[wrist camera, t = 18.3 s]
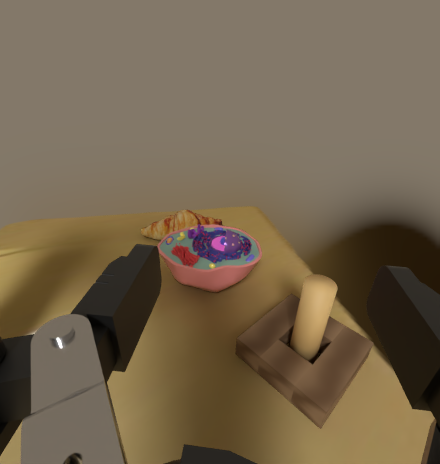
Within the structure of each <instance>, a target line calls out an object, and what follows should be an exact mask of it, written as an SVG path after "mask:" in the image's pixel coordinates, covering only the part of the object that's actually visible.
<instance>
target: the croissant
mask: <svg viewBox="0 0 440 464" xmlns="http://www.w3.org/2000/svg"><path fill="white" fill-rule="evenodd" d="M198 224H200V225H211V224H216V225H221V224H222V221H221V220H220V219H213V218H211V217H203V216H202V215H200V214H196V213H193V212H192V211H190V210H181V211H179V212H177V213H176V214H175V215H170V216H167V217H165V218H164V219H163V220H160V221H158V222H154V223H152V224H150V225H149V226H148V227H145V228H142V230H141V233H142V235H143V236H145V237H148V238H152V239H156V240H162V239H163V238H164V237H165V236H166V235H167V234H169V233H171V232H174V231H177V230H181V229H185V228H188V227H192V226H198Z"/></svg>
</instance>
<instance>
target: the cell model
mask: <svg viewBox="0 0 440 464" xmlns="http://www.w3.org/2000/svg"><path fill="white" fill-rule="evenodd" d="M157 247H158V250H159V253H160V255H161V257H162V258H163V260H164V262H165V263H166V265H167V266H168V267H169V269H170V270H171V273H172V275H173V277H174V278H175V280H176V281H177V282H179V283H180V284H183V285H186V286H191V287H195V288H198V289H201V290H205V291H210V292H219V291H221V290H224V289H226V288H228V287H230V286H232V285H234V284H237V283H238V282H240V281H241V280H242V279H244V278H245V277H246V276H247V275H248V274H249V273H250V272H251V271H252V269H253V268H254V267H255V265H256V264H257V263H258V261H259V260H260V258H261V257H262V251H261V247H260V245H259V243H258V241H257V240H256V239H254V238H253V237H251V236H250V235H249V234H248V233H246V232H245V231H243V230H241V229H238V228H233V227H227V226H222V225H216V224H211V225H200V224H198V226H192V227H188V228H185V229H181V230H177V231H174V232H171V233H169V234H167V235H166V236H165V237H164V238H163V239H162V240H161V241H160V242H159V244H158V246H157Z"/></svg>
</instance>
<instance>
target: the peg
mask: <svg viewBox="0 0 440 464" xmlns="http://www.w3.org/2000/svg"><path fill="white" fill-rule="evenodd" d="M336 292H337V285H336V283H334V281H333V280H331V279H330V278H328V277H325V276H322V275H309V276H307V277H306V278H305V280H304V284H303V288H302V293H301V297H300V302H299V306H298V310H297V315H296V319H295V324H294V328H293V333H292V337H291V341H290V346H289V348H291V349H292V350H294V351H295V352H296V353H298V354H299V355H300V356H302V357H303V358H304V359H306V360H307V361H308V362H310V363H311V364H312V365H313V364H314V362H315V361H316V357H317V354H318V351H319V348H320V344H321V341H322V338H323V334H324V331H325V328H326V325H327V321H328V318H329V315H330V312H331V308H332V305H333V302H334V299H335V295H336Z"/></svg>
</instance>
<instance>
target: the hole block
mask: <svg viewBox="0 0 440 464" xmlns="http://www.w3.org/2000/svg"><path fill="white" fill-rule="evenodd" d="M299 302H300V299H299V298H298V297H296V296H294V295H293V294H290V295H289V296H288V297H287V298H285V299H284V300H283V301H282V302H281V303H279V304H278V305H277V306H276V307H274V308H273V309H272V310H271V311H269V312H268V313H267V314H266V315H264V316H263V317H262V318H261V319H260V320H258V321H257V322H256V323H255V324H253V325H252V326H251V327H250V328H248V329H247V330H246V331H245V332H243V333H242V334H241V335H240V336H239V337H237V344H236V354H237V355H238V356H239V357H240V358H241V359H242V360H243V361H245V362H246V363H247V364H248V365H249V366H250V367H251V368H252V369H254V370H255V371H256V372H257V373H258V374H259V375H260V376H261V377H263V378H264V379H265V380H266V381H267V382H268V383H269V384H271V385H272V386H273V387H274V388H275V389H276V390H277V391H278V392H280V393H281V394H282V395H283V396H284V397H285V398H286V399H287V400H289V401H290V402H291V403H292V404H293V405H294V406H295V407H296V408H298V409H299V410H300V411H301V412H302V413H303V414H304V415H306V416H307V417H308V418H309V419H310V420H311V421H312V422H313V423H315V424H316V425H317V426H318V427H319V428H320V429H321V427H322V426H323V424H324V423H325V421H326V420H327V418H328V417H329V415H330V414H331V412H332V411H333V409H334V408H335V406H336V405H337V403H338V402H339V400H340V399H341V397H342V395H343V394H344V392H345V391H346V389H347V388H348V386H349V385H350V383H351V382H352V380H353V379H354V377H355V376H356V374H357V373H358V371H359V370H360V368H361V367H362V365H363V364H364V362H365V361H366V359H367V357H368V355H369V352H370V350H371V348H372V346H373V342H371V341H370V340H368V339H366V338H365V337H363V336H361V335H360V334H358V333H356V332H355V331H353V330H351V329H350V328H348V327H346V326H345V325H343V324H341V323H340V322H338V321H336V320H335V319H333V318H331V317H330V316H329V318H328V321H327V325H326V328H325V331H324V334H323V338H322V341H321V344H320V348H319V352H320V353H322V354H321V355H320V356H319V358H318V359H317V360H316V361H315V362H314V364H313V365H312V364H311V363H310V362H308V361H307V360H306V359H304V358H303V357H302V356H300V355H299V354H298V353H296V352H295V351H294V350H292V349H291V348H289V347H288V346H287V345H286V344H287V343H288V342H289V341H290V340H291V337H292V333H293V328H294V324H295V319H296V315H297V310H298V306H299Z"/></svg>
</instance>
